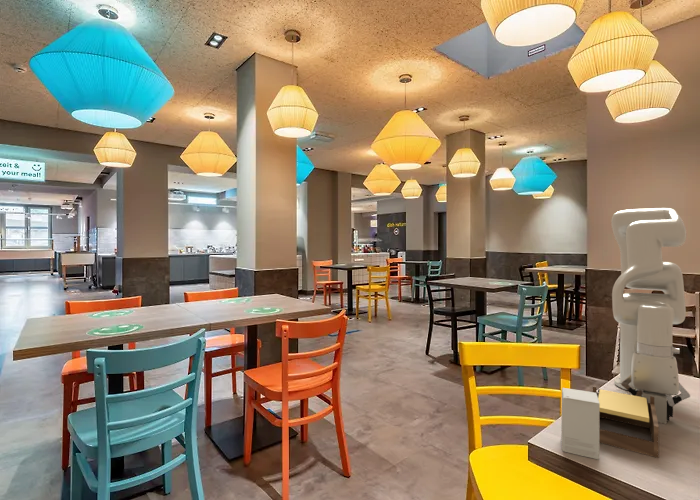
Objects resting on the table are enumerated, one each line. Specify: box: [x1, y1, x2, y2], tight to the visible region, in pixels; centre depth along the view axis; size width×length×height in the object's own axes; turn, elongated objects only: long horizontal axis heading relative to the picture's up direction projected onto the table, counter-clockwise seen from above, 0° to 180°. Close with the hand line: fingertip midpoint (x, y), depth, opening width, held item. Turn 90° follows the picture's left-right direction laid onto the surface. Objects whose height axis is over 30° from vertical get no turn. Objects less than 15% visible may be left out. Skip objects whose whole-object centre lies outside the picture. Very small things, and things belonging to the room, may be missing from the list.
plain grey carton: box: [642, 391, 668, 425], centre depth 102 cm, size 5×5×7 cm
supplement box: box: [560, 387, 600, 460], centre depth 87 cm, size 7×7×13 cm
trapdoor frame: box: [592, 385, 660, 459], centre depth 94 cm, size 17×13×8 cm
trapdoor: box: [597, 388, 649, 422], centre depth 94 cm, size 14×11×1 cm
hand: (653, 415), depth 102 cm, fingers closed on plain grey carton, 5 cm apart
